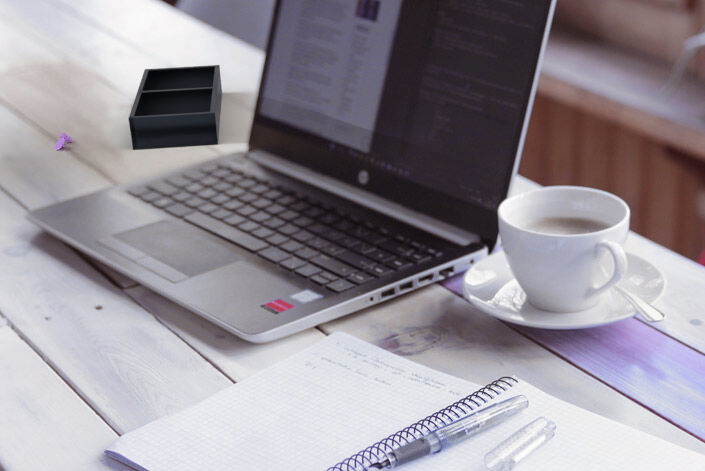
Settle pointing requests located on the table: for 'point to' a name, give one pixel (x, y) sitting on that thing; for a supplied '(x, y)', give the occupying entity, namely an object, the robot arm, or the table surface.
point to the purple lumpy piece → (61, 141)
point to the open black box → (177, 107)
